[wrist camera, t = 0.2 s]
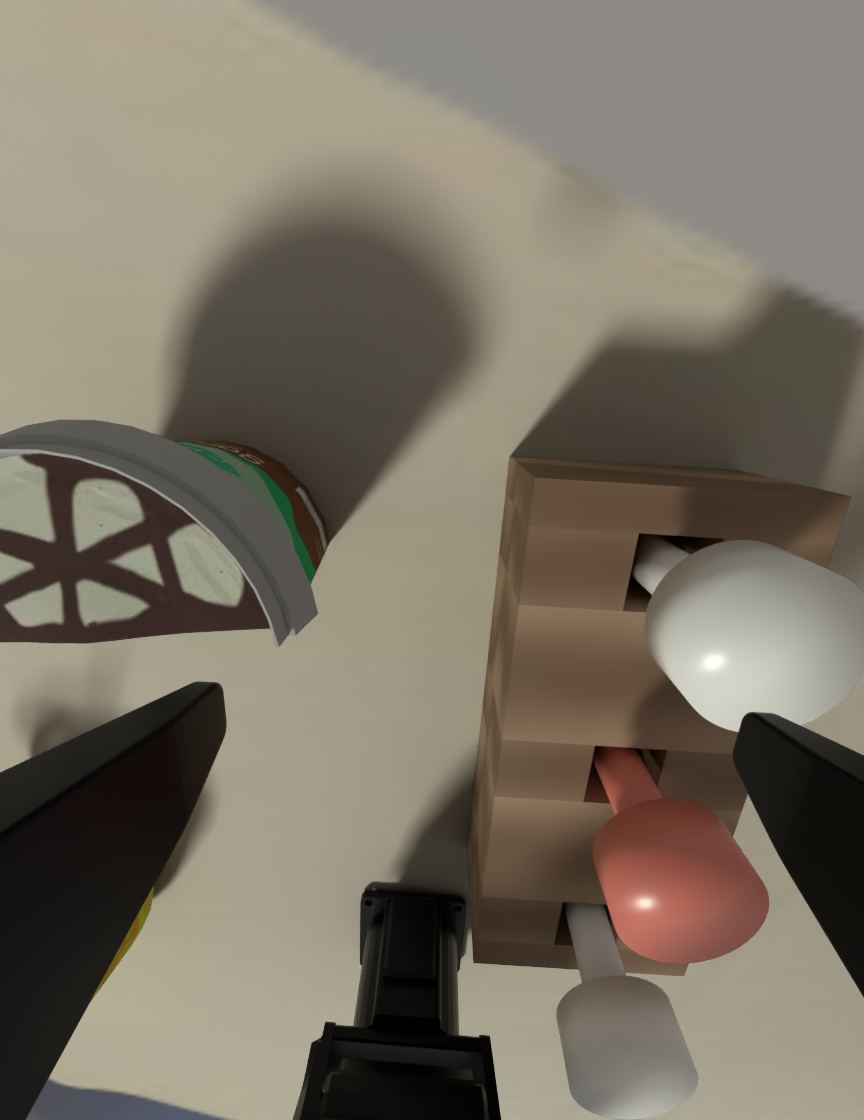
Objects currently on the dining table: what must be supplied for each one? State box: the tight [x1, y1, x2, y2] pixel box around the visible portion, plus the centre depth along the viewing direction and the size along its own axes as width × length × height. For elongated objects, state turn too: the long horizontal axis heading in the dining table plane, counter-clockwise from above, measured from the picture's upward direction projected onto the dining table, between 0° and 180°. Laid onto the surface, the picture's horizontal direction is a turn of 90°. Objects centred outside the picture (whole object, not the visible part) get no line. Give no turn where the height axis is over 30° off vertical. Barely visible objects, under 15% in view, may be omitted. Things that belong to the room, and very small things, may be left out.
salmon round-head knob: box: [592, 746, 769, 963], centre depth 17 cm, size 4×4×8 cm
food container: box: [0, 420, 330, 647], centre depth 16 cm, size 12×6×10 cm, turn 94°
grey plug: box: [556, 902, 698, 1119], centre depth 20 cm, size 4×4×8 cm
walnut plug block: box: [467, 457, 851, 976], centre depth 21 cm, size 23×10×6 cm, turn 177°
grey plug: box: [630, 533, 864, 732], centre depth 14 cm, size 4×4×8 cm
